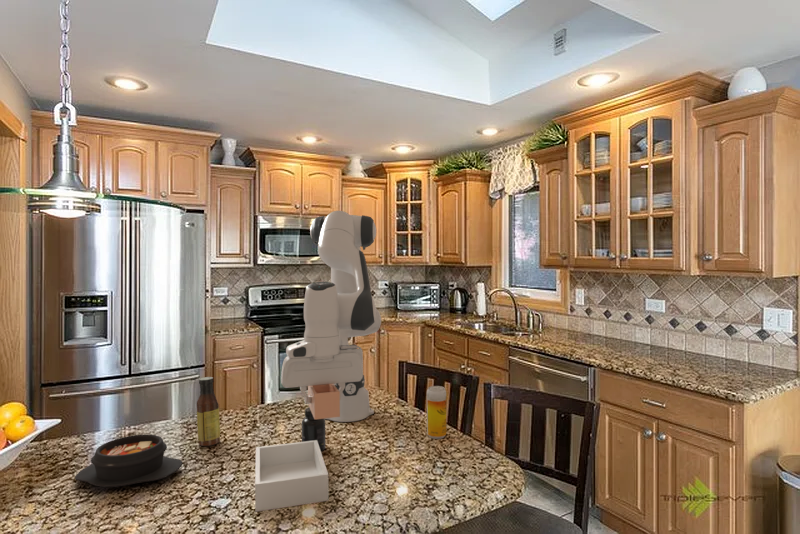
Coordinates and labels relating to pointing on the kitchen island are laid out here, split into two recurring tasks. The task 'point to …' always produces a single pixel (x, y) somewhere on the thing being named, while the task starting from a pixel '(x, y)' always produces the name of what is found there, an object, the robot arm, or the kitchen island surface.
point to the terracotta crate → (324, 401)
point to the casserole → (129, 462)
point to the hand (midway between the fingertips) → (322, 401)
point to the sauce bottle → (207, 414)
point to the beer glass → (436, 412)
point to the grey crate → (290, 475)
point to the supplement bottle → (313, 429)
